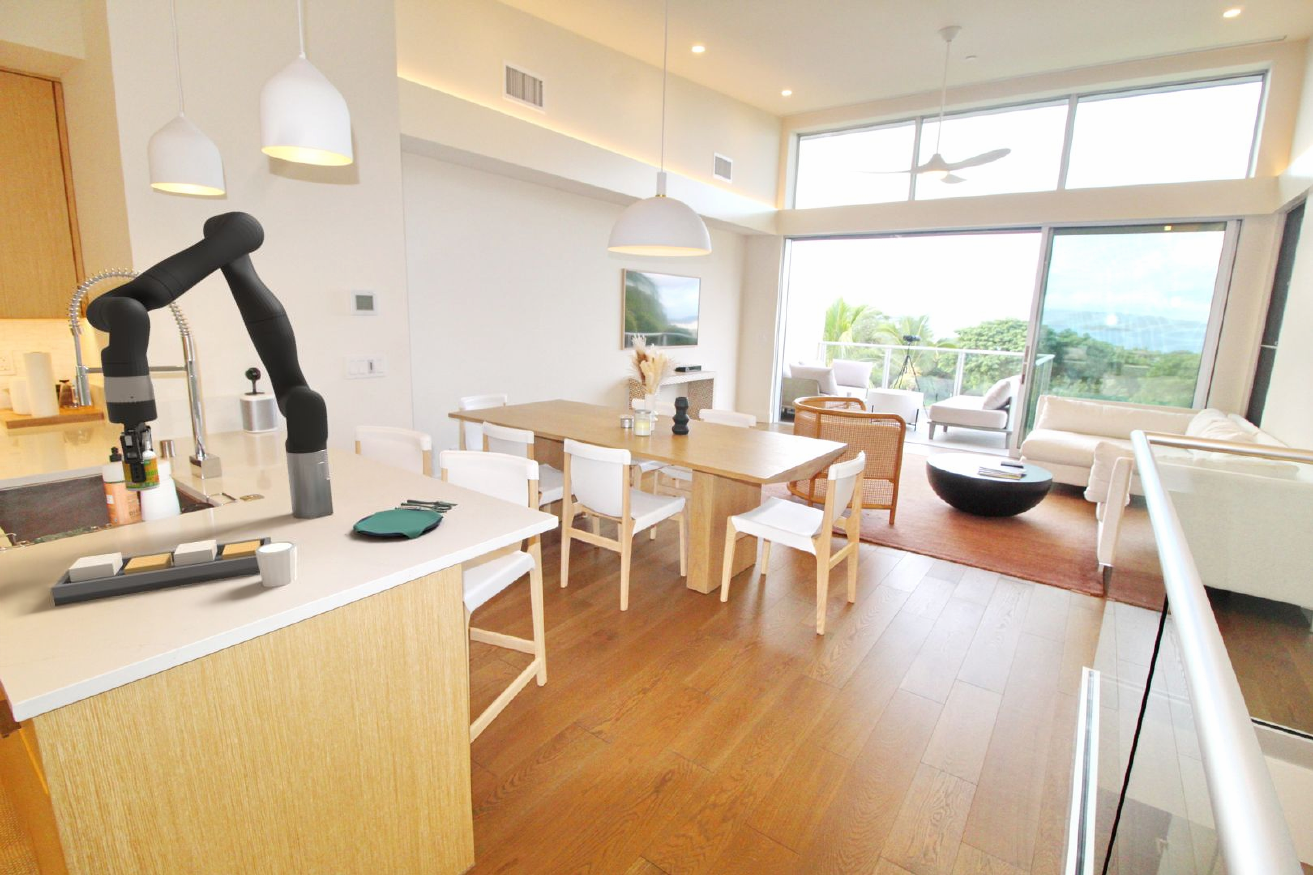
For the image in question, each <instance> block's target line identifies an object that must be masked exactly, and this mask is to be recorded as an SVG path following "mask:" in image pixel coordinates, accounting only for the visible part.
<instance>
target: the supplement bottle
mask: <svg viewBox="0 0 1313 875" xmlns="http://www.w3.org/2000/svg"><path fill="white" fill-rule="evenodd" d="M140 448H142V447H140ZM149 449H150V444H149V441H147V452H146V453H145V454H144V460H145V462H144V464H145V471H146V478H147V480H146V481H145V482H143V483H133V482H132V478H131V472H130V465H128V464H125V462H124V456H123V454H122V455H121V464H122V471H123V478H124V483H125V489H126V490H127V491H128V492H144V491H151V490H153V489H157V488H158V487H160V484H161V483H160V476H159V475H160V474H159V468H158V463H157V462H158V461H157V454H156V453H155V452H154V451H153V452H152V451H149ZM133 457H137V455H136V454H132V458H133Z"/></svg>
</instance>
